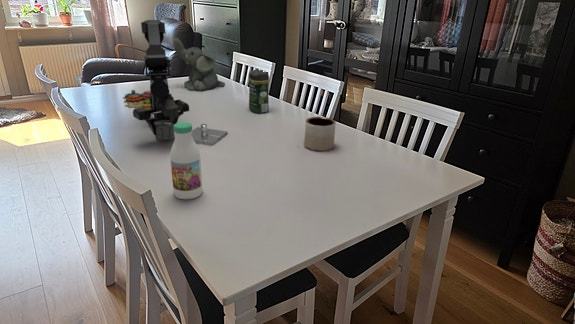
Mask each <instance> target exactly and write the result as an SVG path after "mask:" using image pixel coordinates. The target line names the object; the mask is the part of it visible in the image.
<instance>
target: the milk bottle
mask: <svg viewBox="0 0 575 324" xmlns="http://www.w3.org/2000/svg"><path fill="white" fill-rule="evenodd" d="M173 127H174V142H173V144H172V147H171V149H170V155H169V156H170V168H171V169H170V170H171V178H172V179H171V180H172V189H173V195H174V196H175V197H176V198H177V199H181V200H193V199H195V198H199V197H200V196H201V195H202V194H203V175H202V162H201V153H200V149H199V147H198V144H197V143H195V142H194V140H193V137H192V130H193V125H192V123H190V122H187V121H181V122H177V123H176V124H174V126H173Z"/></svg>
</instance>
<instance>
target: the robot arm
mask: <svg viewBox="0 0 575 324" xmlns="http://www.w3.org/2000/svg"><path fill="white" fill-rule="evenodd" d="M140 25H141V27H140V28H141V33H142V34H143V36H144V38H145V41H146V42H147V43H148V48H147V49H145V56H143V58H144V69H145V70H144V71H145V76H146V77H149V91H151V93H150V95H149V96H150V105H151V109H149V110H148V109H146V108H144V107H142V108H133V111H132V115H133V118H135V119H136V120H139V121H145V123H146V124H147V126H148V127H149V129H150V131H151V132H152V134H153V136H155V135H156V129H155V122H157V121H161V120H169V121H172V122H173V126H174V124H176V123H178V120H179V118H180V117H181V116H183V115H184V114H185V113H186V112H189V111H190V105H189V103H187V102H185V101H183V100H181V99H176V100H175V99H174V97H173V95H172V94H171V93H170V88H169V83H168V76H169V77H170V76H171V73H173V72H172V65H171V59H170V58H169V56H166V55H167V54H166V50H165V49H164V48H163V47H162V43H163V41H164V38H165V34H166V25H165V22H164V21H161V20H158V19H147V20H144V21H142V22H140Z"/></svg>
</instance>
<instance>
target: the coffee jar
mask: <svg viewBox="0 0 575 324" xmlns="http://www.w3.org/2000/svg"><path fill="white" fill-rule="evenodd" d="M269 82H270V74H269V73H268V72H265V71H263V70H260V69H251V70H249V72H248V85H249V87H248V88H249V90H248V93H249V94H248V108H249V110H250V111H251V112H252V113H255V114H265V113H267V112H269V111H270V107H269V106H270V105H269V104H270V103H269V102H270V101H269V84H270V83H269Z"/></svg>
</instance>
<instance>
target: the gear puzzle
mask: <svg viewBox="0 0 575 324" xmlns="http://www.w3.org/2000/svg"><path fill="white" fill-rule="evenodd" d="M150 93H151V91H150V90H144V91H143V92H142V93H139V92H136V90H135V89H131V91H130V93H126V94H125V95H124V96H123V98H122V99H123V100H124V101H123V103H124V104H125V103H127V104H125V106H124V107H125V108H127V107H128V109H132V108H133V109H136V108H142V107H144V108H146V109H148V110H149V109H151V105H150V96H149V95H150Z"/></svg>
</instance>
